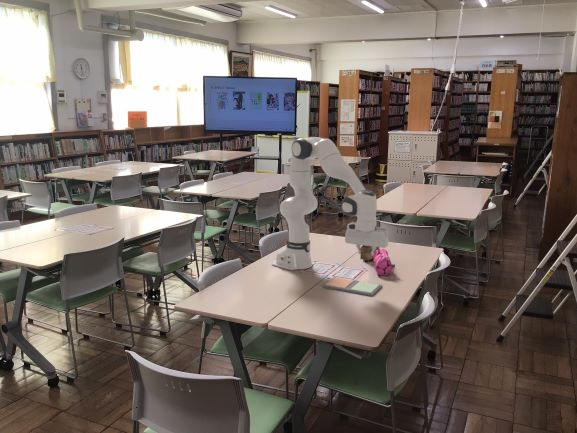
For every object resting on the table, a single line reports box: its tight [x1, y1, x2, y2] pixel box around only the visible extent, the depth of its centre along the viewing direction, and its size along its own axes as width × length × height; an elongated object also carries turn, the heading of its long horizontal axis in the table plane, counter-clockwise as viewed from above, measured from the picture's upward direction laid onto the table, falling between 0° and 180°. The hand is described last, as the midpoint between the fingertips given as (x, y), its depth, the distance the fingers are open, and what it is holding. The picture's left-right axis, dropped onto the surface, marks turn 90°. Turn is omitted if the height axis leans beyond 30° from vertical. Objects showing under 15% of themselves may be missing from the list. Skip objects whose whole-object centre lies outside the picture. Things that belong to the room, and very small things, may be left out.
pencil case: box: [373, 248, 396, 277], centre depth 258 cm, size 21×10×10 cm, turn 177°
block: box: [359, 245, 372, 260], centre depth 227 cm, size 4×4×6 cm
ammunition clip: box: [362, 247, 381, 263], centre depth 274 cm, size 11×2×12 cm, turn 119°
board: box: [322, 276, 383, 297], centre depth 234 cm, size 25×14×1 cm, turn 61°
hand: (366, 254), depth 227 cm, fingers closed on block, 4 cm apart
